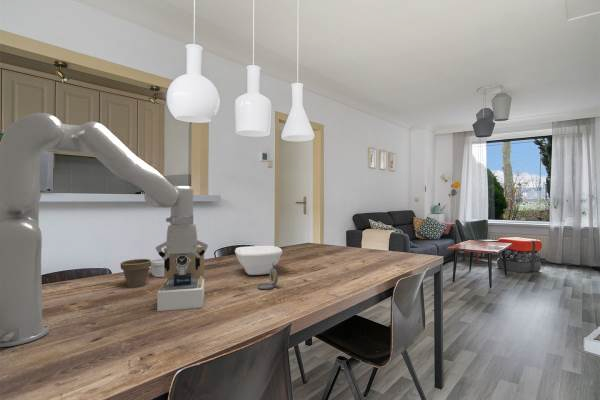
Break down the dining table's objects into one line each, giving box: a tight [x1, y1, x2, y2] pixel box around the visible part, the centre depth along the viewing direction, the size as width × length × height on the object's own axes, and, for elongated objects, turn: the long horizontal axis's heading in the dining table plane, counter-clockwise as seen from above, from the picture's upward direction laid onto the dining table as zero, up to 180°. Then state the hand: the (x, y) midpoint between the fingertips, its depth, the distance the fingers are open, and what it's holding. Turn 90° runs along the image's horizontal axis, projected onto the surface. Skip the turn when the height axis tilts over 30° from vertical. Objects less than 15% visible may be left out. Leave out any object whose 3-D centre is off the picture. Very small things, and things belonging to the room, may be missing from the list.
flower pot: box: [119, 258, 152, 288], centre depth 137 cm, size 12×11×10 cm
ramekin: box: [150, 257, 164, 278], centre depth 156 cm, size 13×13×7 cm
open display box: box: [156, 246, 205, 312], centre depth 116 cm, size 16×14×18 cm
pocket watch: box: [256, 262, 279, 290], centre depth 133 cm, size 8×8×10 cm
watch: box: [174, 254, 191, 286], centre depth 115 cm, size 6×8×11 cm
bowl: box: [234, 245, 284, 276], centre depth 157 cm, size 22×22×12 cm
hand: (182, 269), depth 116 cm, fingers open, 9 cm apart
